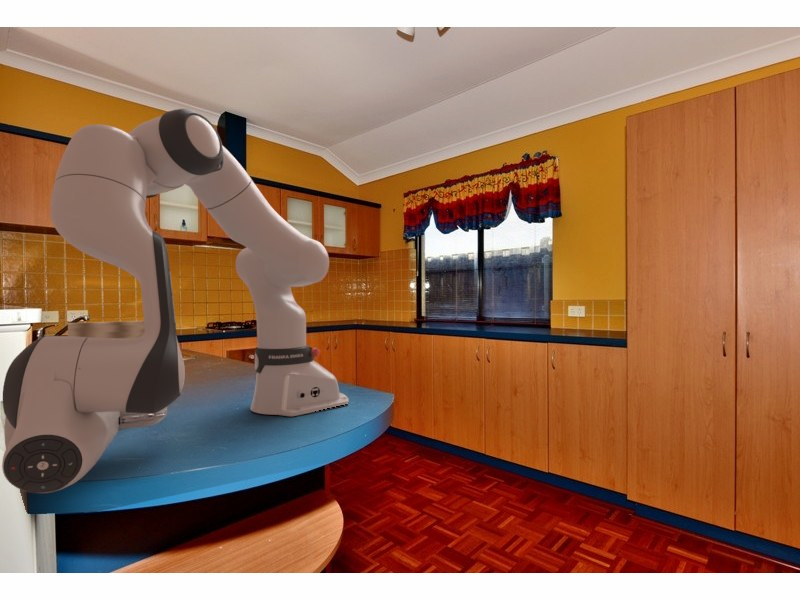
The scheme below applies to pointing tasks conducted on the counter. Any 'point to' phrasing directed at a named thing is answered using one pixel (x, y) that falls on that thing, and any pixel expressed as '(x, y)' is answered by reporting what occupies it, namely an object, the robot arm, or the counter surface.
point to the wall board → (107, 329)
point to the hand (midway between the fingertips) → (104, 403)
